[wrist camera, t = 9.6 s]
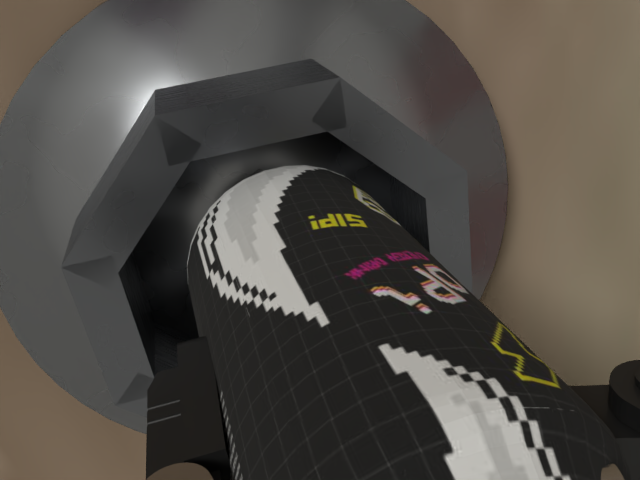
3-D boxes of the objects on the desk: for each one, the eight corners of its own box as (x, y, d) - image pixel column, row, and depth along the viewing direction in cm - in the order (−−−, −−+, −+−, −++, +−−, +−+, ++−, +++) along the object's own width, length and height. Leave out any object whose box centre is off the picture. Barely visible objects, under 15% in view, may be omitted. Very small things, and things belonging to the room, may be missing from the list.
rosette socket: (478, -86, 18) (571, -98, 14) (491, 354, 25) (555, 429, 21) (-107, 14, 15) (-198, 34, 11) (93, 468, 23) (79, 577, 19)
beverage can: (412, 206, 18) (797, 537, 8) (316, 358, 20) (540, 813, 9) (244, 119, 16) (488, 437, 5) (148, 300, 17) (195, 838, 7)
